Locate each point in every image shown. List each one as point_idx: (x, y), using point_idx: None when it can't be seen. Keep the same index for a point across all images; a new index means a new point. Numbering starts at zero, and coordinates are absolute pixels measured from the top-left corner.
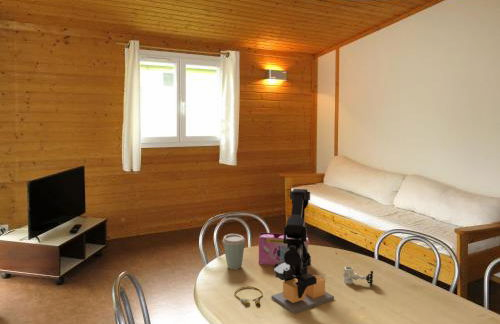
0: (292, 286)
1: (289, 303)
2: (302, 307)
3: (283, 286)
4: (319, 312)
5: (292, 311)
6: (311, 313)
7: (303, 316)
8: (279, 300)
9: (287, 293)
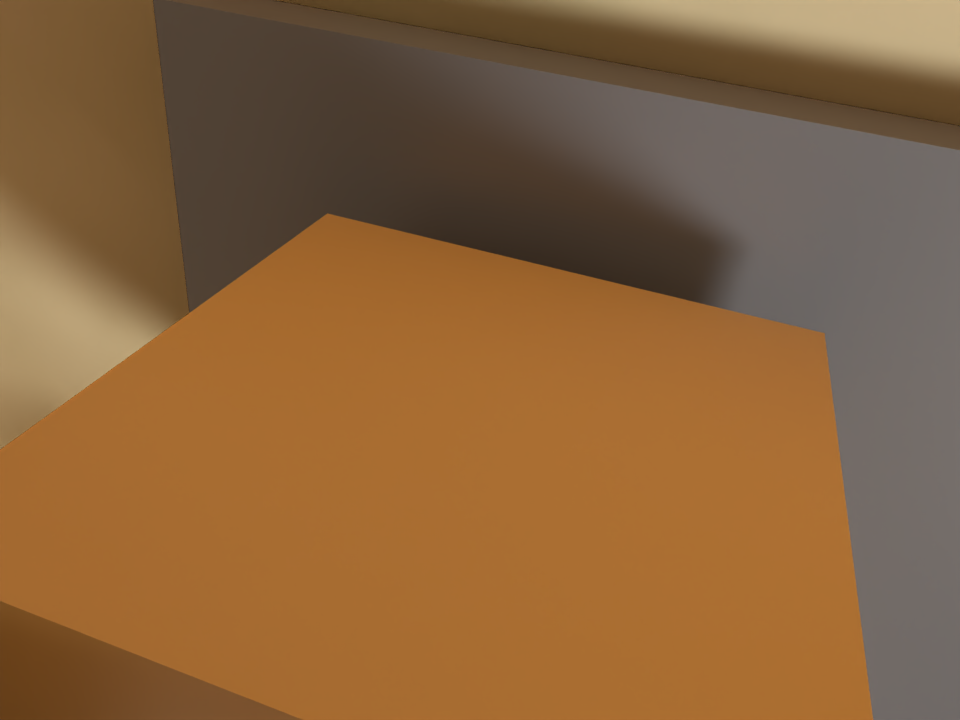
0: (7, 645)
1: (504, 215)
2: (187, 268)
3: (833, 636)
4: (59, 373)
5: (259, 3)
6: (76, 263)
7: (34, 52)
8: (878, 151)
9: (536, 385)
